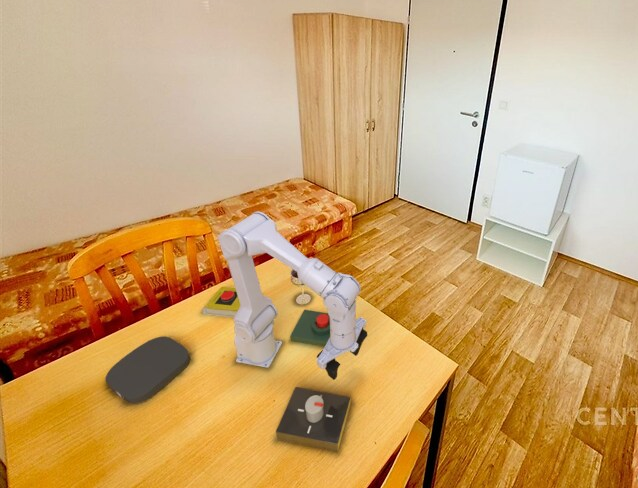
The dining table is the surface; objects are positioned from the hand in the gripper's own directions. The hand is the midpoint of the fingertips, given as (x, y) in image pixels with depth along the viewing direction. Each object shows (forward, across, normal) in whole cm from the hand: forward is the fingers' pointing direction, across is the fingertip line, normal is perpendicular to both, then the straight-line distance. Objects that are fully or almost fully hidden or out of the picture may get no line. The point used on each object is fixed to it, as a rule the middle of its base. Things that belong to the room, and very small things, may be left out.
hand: (343, 364), depth 77 cm
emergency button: (+10, -2, +47) cm, 48 cm away
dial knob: (+6, -9, 0) cm, 11 cm away
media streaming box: (+10, -26, +43) cm, 51 cm away
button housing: (+9, +8, +19) cm, 22 cm away
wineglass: (+10, +14, +32) cm, 36 cm away
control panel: (+9, -10, 0) cm, 13 cm away
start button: (+6, +9, +17) cm, 20 cm away
